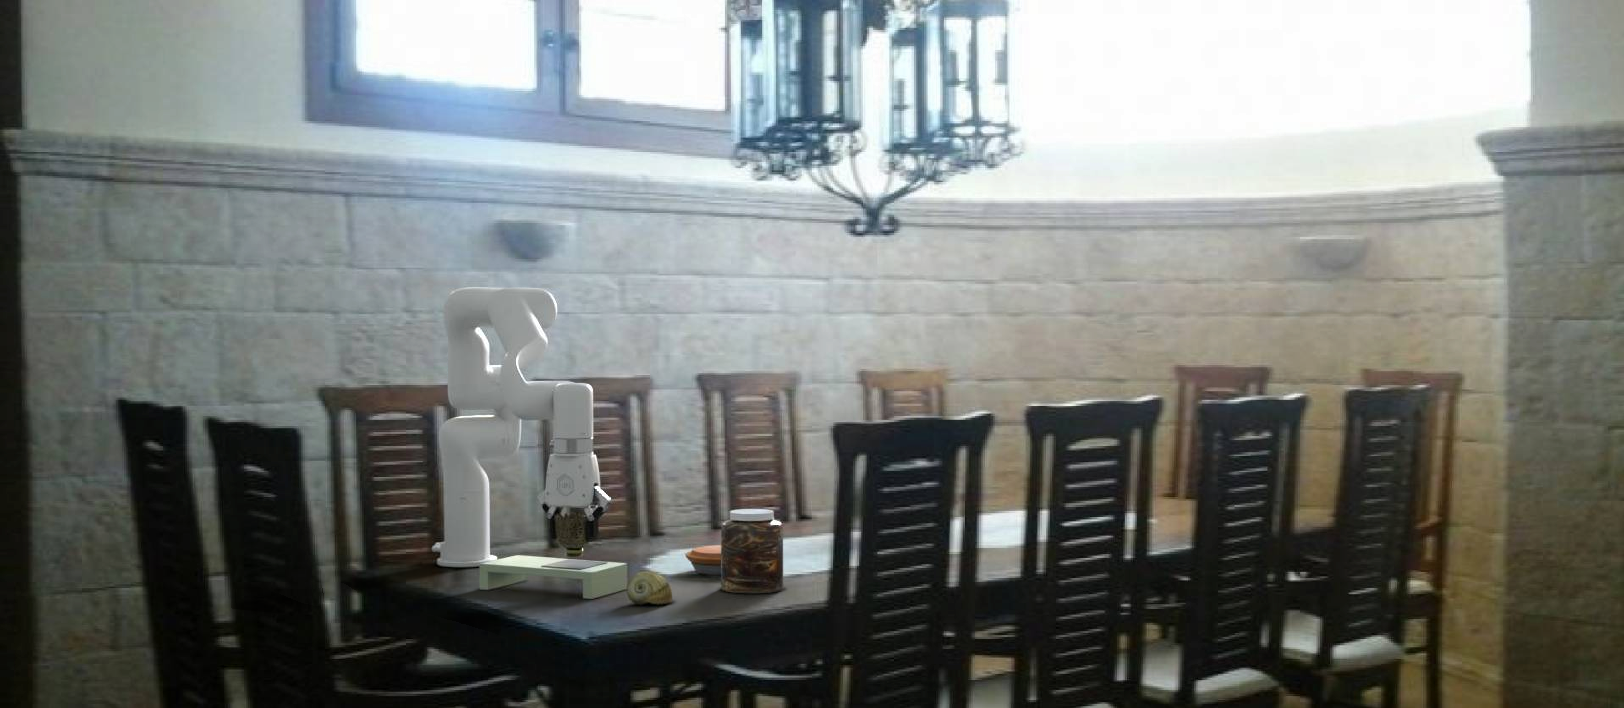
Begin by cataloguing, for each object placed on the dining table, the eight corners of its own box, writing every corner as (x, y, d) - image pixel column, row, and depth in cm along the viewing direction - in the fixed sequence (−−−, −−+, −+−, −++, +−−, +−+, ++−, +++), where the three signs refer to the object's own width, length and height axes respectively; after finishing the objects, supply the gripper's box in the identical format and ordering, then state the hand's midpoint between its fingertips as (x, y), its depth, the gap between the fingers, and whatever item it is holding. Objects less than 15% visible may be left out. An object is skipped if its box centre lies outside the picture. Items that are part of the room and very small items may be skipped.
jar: (771, 582, 300) (771, 506, 300) (791, 591, 289) (790, 513, 289) (714, 586, 296) (713, 509, 295) (731, 595, 285) (731, 516, 284)
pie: (774, 572, 312) (774, 548, 312) (707, 579, 304) (707, 554, 304) (737, 563, 325) (737, 539, 325) (672, 569, 317) (672, 545, 317)
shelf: (479, 589, 293) (479, 562, 293) (517, 580, 304) (517, 554, 304) (591, 599, 282) (591, 571, 282) (627, 589, 293) (626, 562, 293)
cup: (601, 554, 293) (601, 513, 293) (580, 559, 286) (579, 517, 286) (568, 552, 296) (568, 511, 296) (546, 557, 289) (546, 515, 289)
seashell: (652, 621, 281) (626, 587, 283) (682, 597, 282) (656, 563, 283) (643, 621, 272) (616, 586, 273) (674, 596, 272) (647, 561, 274)
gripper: (524, 447, 291) (525, 539, 291) (600, 450, 283) (601, 544, 284) (547, 444, 298) (548, 534, 298) (622, 447, 290) (623, 539, 290)
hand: (574, 539), depth 291 cm, fingers closed on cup, 7 cm apart
